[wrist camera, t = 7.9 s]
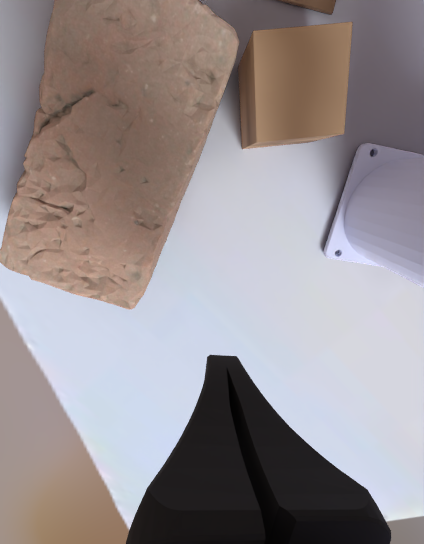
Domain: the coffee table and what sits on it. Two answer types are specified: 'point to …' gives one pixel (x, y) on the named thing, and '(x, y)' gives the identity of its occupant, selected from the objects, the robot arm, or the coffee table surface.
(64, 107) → the brick
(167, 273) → the coffee table surface
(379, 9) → the coffee table surface
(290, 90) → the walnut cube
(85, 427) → the coffee table surface
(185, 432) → the robot arm
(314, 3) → the board
